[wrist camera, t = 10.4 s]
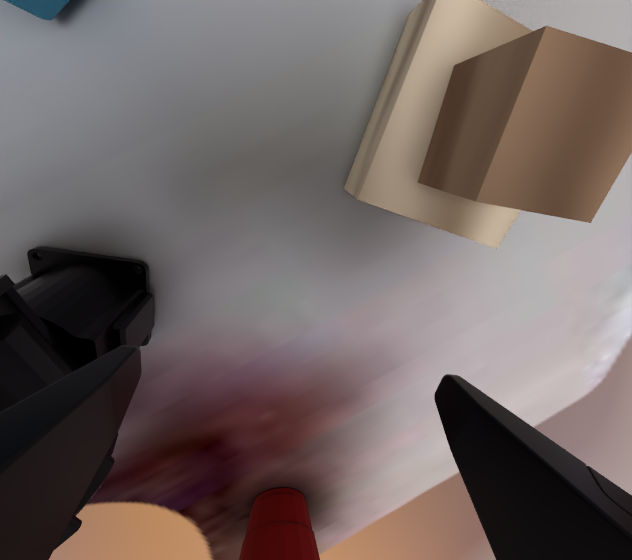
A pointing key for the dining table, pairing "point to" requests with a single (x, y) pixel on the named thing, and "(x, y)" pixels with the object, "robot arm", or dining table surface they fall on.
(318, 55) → the dining table surface
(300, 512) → the plastic cup
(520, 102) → the walnut cube
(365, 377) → the dining table surface
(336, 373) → the dining table surface
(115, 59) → the dining table surface
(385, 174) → the maple base block
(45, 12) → the blue flat block
